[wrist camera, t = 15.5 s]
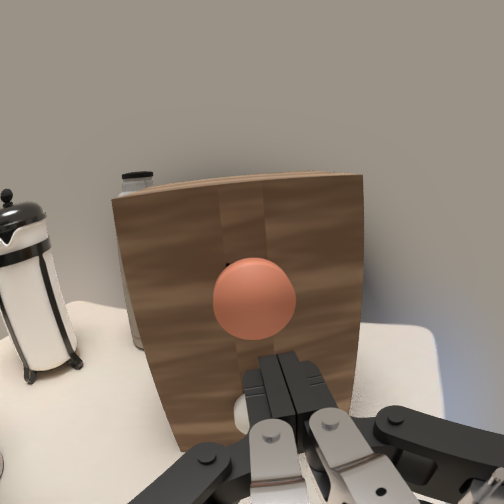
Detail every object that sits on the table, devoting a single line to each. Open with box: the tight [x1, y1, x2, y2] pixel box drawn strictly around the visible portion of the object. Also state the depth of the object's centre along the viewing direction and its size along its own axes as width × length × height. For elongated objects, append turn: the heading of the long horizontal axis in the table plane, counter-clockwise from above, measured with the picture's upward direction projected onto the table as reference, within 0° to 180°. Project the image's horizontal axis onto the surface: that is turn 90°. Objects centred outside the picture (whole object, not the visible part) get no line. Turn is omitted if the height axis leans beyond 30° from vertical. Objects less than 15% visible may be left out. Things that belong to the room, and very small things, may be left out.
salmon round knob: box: [213, 258, 296, 340], centre depth 25 cm, size 14×5×5 cm, turn 6°
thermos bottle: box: [116, 171, 153, 349], centre depth 47 cm, size 8×8×28 cm
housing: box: [112, 171, 364, 452], centre depth 30 cm, size 14×18×26 cm
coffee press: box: [0, 189, 83, 384], centre depth 39 cm, size 17×16×30 cm
